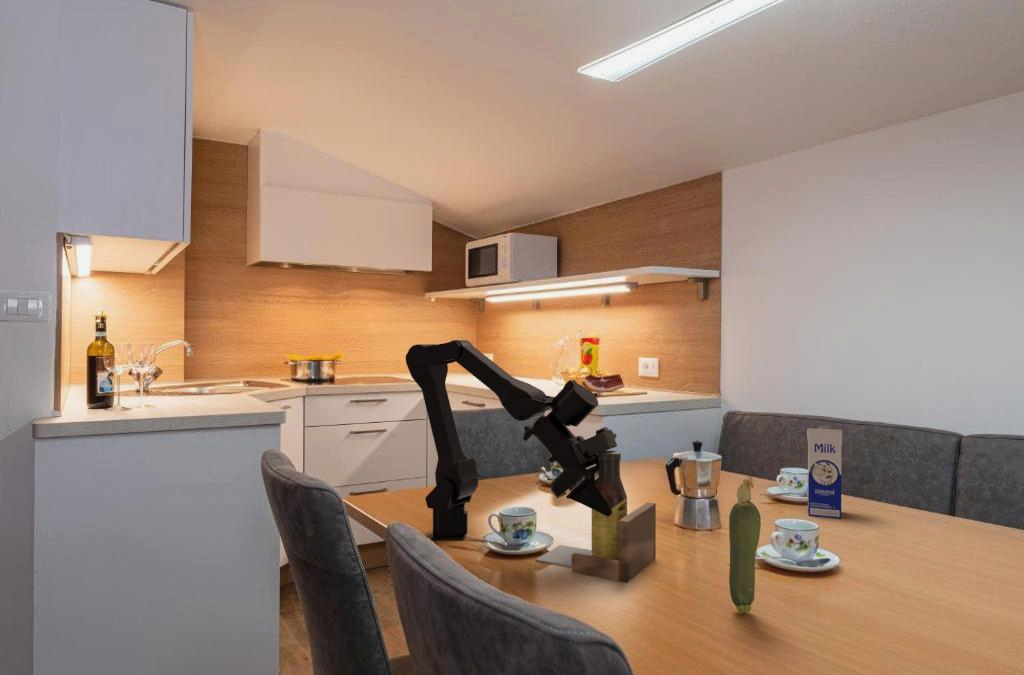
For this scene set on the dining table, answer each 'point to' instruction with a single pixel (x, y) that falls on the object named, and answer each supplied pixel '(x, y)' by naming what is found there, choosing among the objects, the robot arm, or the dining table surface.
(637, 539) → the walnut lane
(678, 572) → the dining table surface
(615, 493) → the sauce bottle
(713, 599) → the dining table surface
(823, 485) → the milk carton
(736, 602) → the vegetable
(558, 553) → the mat
